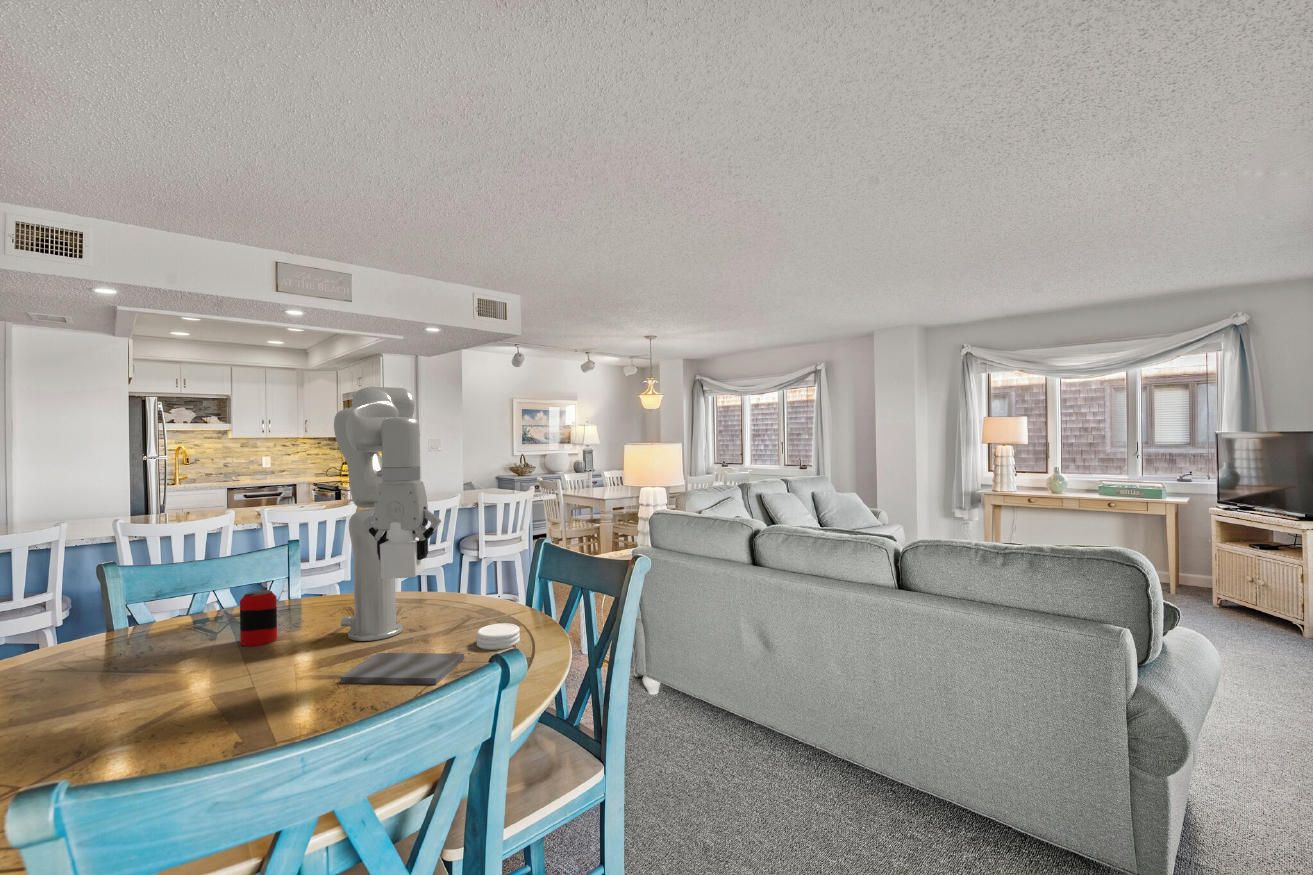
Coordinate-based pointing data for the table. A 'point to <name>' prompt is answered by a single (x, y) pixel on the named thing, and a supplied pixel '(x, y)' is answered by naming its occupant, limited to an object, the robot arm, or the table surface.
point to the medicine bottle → (400, 554)
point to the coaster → (498, 636)
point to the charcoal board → (403, 668)
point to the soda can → (258, 618)
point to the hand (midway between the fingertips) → (402, 558)
